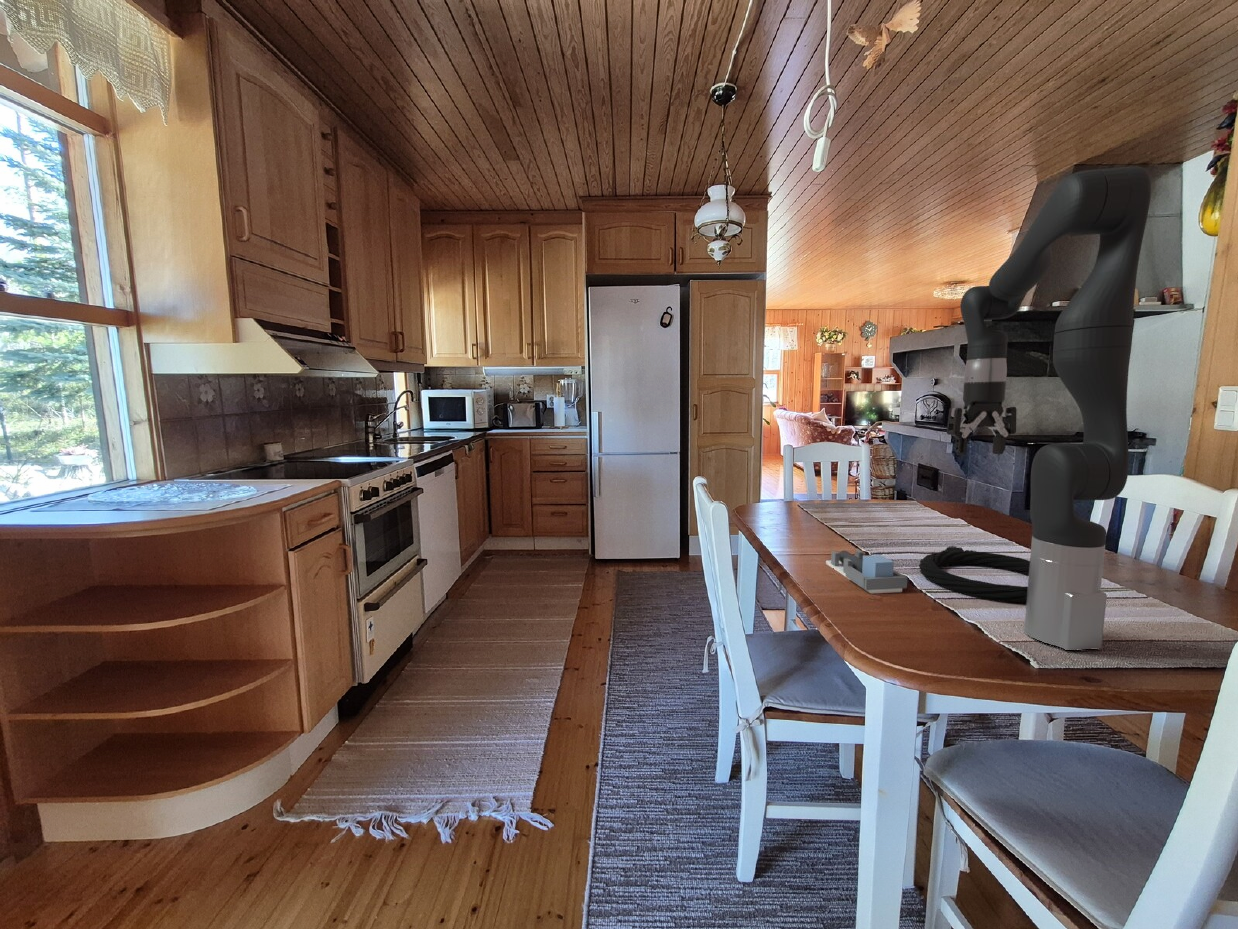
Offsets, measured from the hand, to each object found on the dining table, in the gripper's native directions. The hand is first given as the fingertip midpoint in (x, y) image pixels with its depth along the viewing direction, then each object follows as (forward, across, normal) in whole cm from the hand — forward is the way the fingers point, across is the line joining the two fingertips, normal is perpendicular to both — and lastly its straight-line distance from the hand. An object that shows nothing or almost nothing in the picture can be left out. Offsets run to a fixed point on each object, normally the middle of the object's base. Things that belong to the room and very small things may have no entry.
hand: (979, 454), depth 115 cm
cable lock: (+29, +2, -2) cm, 29 cm away
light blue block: (+27, -25, +3) cm, 37 cm away
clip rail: (+28, -24, +4) cm, 37 cm away
